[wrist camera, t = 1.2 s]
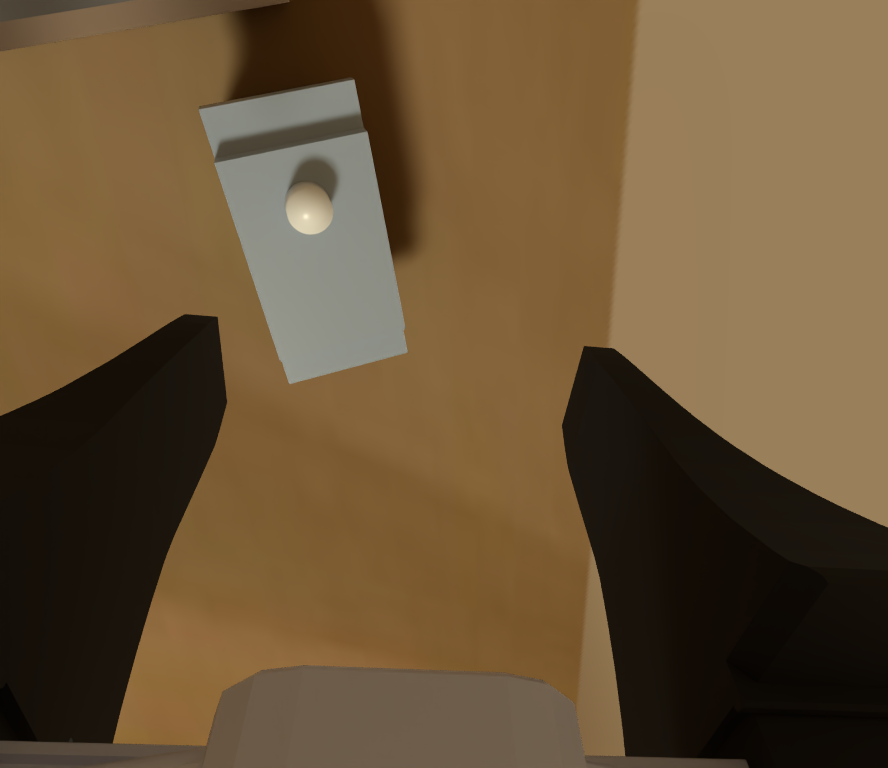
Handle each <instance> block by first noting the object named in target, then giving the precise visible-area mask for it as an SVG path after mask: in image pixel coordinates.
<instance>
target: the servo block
mask: <svg viewBox="0 0 888 768" xmlns="http://www.w3.org/2000/svg"><path fill="white" fill-rule="evenodd" d="M199 112H200V115H201V118H202V121H203V124H204V127H205V130H206V133H207V136H208V139H209V142H210V145H211V148H212V151H213V155H214V158H215V162H214V163H215V166H216V169H217V172H218V175H219V178H220V181H221V184H222V187H223V191H224V194H225V197H226V200H227V203H228V206H229V209H230V212H231V215H232V218H233V221H234V224H235V227H236V230H237V233H238V236H239V239H240V242H241V245H242V248H243V251H244V254H245V257H246V260H247V263H248V266H249V269H250V272H251V275H252V278H253V281H254V284H255V287H256V290H257V293H258V296H259V299H260V302H261V305H262V308H263V311H264V314H265V317H266V320H267V323H268V326H269V329H270V332H271V335H272V338H273V341H274V344H275V347H276V350H277V353H278V356H279V359H280V361H282V363H283V366H284V369H285V372H286V376H287V379H288V382H289V384H291V383H295V382H299V381H303V380H306V379H310V378H314V377H318V376H321V375H325V374H329V373H333V372H336V371H340V370H344V369H348V368H351V367H355V366H359V365H363V364H366V363H370V362H374V361H378V360H381V359H385V358H389V357H393V356H396V355H400V354H404V353H408V351H407V346H406V341H405V336H404V331H403V329H405V323H404V318H403V313H402V308H401V303H400V298H399V292H398V287H397V282H396V277H395V272H394V267H393V261H392V256H391V251H390V246H389V241H388V236H387V230H386V225H385V220H384V215H383V210H382V204H381V199H380V194H379V189H378V184H377V179H376V173H375V168H374V163H373V158H372V153H371V148H370V142H369V137H368V132H367V131H366V129H365V128H364V126H363V121H362V116H361V111H360V106H359V101H358V96H357V91H356V86H355V80H354V79H353V78H352V77H350V78H345V79H339V80H334V81H329V82H324V83H319V84H313V85H308V86H303V87H298V88H293V89H287V90H282V91H277V92H272V93H267V94H261V95H256V96H251V97H246V98H241V99H235V100H230V101H225V102H220V103H215V104H209V105H204V106H199Z"/></svg>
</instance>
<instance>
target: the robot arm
mask: <svg viewBox="0 0 888 768" xmlns="http://www.w3.org/2000/svg"><path fill="white" fill-rule="evenodd" d="M226 404H227V398H226V389H225V380H224V371H223V362H222V353H221V344H220V335H219V326H218V317H213V316H200V315H188V314H185V315H183V316H181V317H179V318H177V319H175V320H174V321H172V322H170V323H169V324H167V325H166V326H164V327H162V328H161V329H159V330H158V331H156V332H155V333H153V334H151V335H150V336H148V337H147V338H145V339H144V340H142V341H141V342H139V343H137V344H136V345H134V346H133V347H131V348H129V349H128V350H126V351H125V352H123V353H121V354H120V355H118V356H117V357H115V358H113V359H112V360H110V361H108V362H107V363H105V364H103V365H101V366H100V367H98V368H96V369H94V370H92V371H91V372H89V373H87V374H85V375H84V376H82V377H80V378H78V379H76V380H75V381H73V382H71V383H69V384H68V385H66V386H64V387H62V388H60V389H58V390H56V391H54V392H52V393H50V394H48V395H46V396H44V397H42V398H40V399H38V400H36V401H33V402H31V403H29V404H27V405H24V406H22V407H20V408H18V409H16V410H13V411H11V412H9V413H6V414H4V415H2V416H0V768H888V528H887V527H885V526H883V525H880V524H878V523H876V522H874V521H871V520H869V519H867V518H865V517H862V516H860V515H858V514H856V513H853V512H851V511H849V510H847V509H845V508H842V507H840V506H838V505H836V504H834V503H832V502H830V501H828V500H826V499H824V498H822V497H820V496H818V495H816V494H814V493H812V492H810V491H809V490H807V489H805V488H803V487H801V486H800V485H798V484H796V483H794V482H792V481H790V480H788V479H787V478H785V477H783V476H781V475H780V474H778V473H776V472H774V471H773V470H771V469H769V468H768V467H766V466H764V465H762V464H761V463H760V462H758V461H756V460H755V459H753V458H752V457H750V456H749V455H747V454H746V453H744V452H742V451H741V450H739V449H738V448H736V447H735V446H733V445H732V444H730V443H729V442H728V441H726V440H725V439H723V438H722V437H720V436H719V435H718V434H716V433H715V432H714V431H712V430H711V429H710V428H709V427H707V426H706V425H705V424H703V423H702V422H701V421H699V420H698V419H697V418H695V417H694V416H693V415H691V413H689V412H688V411H687V410H686V409H684V408H683V407H682V406H681V405H679V404H678V403H677V402H676V401H675V400H674V399H672V398H671V397H670V396H669V395H668V394H666V393H665V392H664V391H663V390H662V389H661V388H660V387H658V386H657V385H656V384H655V383H654V382H653V381H652V380H650V379H649V378H648V377H647V376H646V375H645V374H644V373H643V372H641V371H640V370H639V369H638V368H637V367H636V366H635V365H633V364H632V363H631V362H630V361H629V360H628V359H626V358H625V357H624V356H623V355H622V354H620V353H619V352H618V351H616V350H615V349H613V348H601V347H588V346H584V348H583V351H582V355H581V359H580V362H579V366H578V370H577V373H576V377H575V380H574V384H573V388H572V391H571V395H570V398H569V402H568V406H567V409H566V413H565V416H564V420H563V424H562V429H563V437H564V445H565V452H566V458H567V464H568V469H569V473H570V476H571V480H572V483H573V487H574V490H575V494H576V497H577V500H578V504H579V507H580V510H581V514H582V517H583V520H584V524H585V527H586V530H587V534H588V537H589V540H590V544H591V547H592V550H593V554H594V557H595V561H596V565H597V569H598V573H599V577H600V582H601V588H602V593H603V598H604V603H605V609H606V615H607V621H608V627H609V634H610V640H611V647H612V652H613V659H614V666H615V672H616V680H617V688H618V696H619V704H620V712H621V719H622V727H623V737H624V747H625V756H586V755H584V750H583V745H582V740H581V736H580V730H579V724H578V719H577V714H576V709H575V704H574V702H572V701H571V700H570V699H568V698H567V697H566V696H564V695H563V694H562V693H560V692H559V691H558V690H556V689H555V688H553V687H552V686H551V685H549V684H548V683H546V682H545V681H543V680H540V679H535V678H530V677H525V676H519V675H514V674H509V673H503V672H475V671H447V670H419V669H391V668H363V667H335V666H308V665H303V666H294V667H285V668H276V669H267V670H261V671H259V672H257V673H256V674H254V675H252V676H250V677H248V678H246V679H244V680H243V681H241V682H239V683H237V684H235V685H233V686H232V687H230V688H228V689H226V690H225V691H223V692H222V695H221V698H220V701H219V704H218V707H217V710H216V712H215V716H214V719H213V723H212V727H211V730H210V734H209V738H208V742H207V745H206V746H189V745H149V744H113V739H114V735H115V731H116V727H117V723H118V719H119V715H120V711H121V707H122V704H123V700H124V696H125V692H126V689H127V685H128V681H129V678H130V674H131V670H132V667H133V663H134V659H135V656H136V652H137V649H138V645H139V642H140V638H141V635H142V632H143V628H144V625H145V622H146V618H147V615H148V611H149V608H150V605H151V601H152V598H153V595H154V592H155V589H156V586H157V583H158V580H159V576H160V573H161V570H162V567H163V564H164V561H165V558H166V555H167V553H168V550H169V548H170V545H171V543H172V540H173V537H174V535H175V533H176V531H177V528H178V526H179V524H180V522H181V520H182V517H183V515H184V513H185V511H186V509H187V506H188V504H189V502H190V500H191V498H192V495H193V493H194V491H195V489H196V487H197V484H198V482H199V480H200V478H201V476H202V473H203V471H204V469H205V467H206V464H207V462H208V460H209V458H210V455H211V453H212V451H213V448H214V446H215V443H216V440H217V437H218V433H219V430H220V426H221V423H222V419H223V415H224V412H225V408H226Z"/></svg>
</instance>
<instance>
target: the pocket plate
mask: <svg viewBox="0 0 888 768" xmlns="http://www.w3.org/2000/svg"><path fill="white" fill-rule="evenodd" d="M287 2H290V1H289V0H0V51H5V50H11V49H17V48H23V47H28V46H34V45H40V44H46V43H52V42H58V41H64V40H70V39H75V38H81V37H87V36H93V35H99V34H105V33H111V32H117V31H123V30H128V29H134V28H140V27H146V26H152V25H158V24H164V23H170V22H176V21H181V20H187V19H193V18H199V17H205V16H211V15H217V14H223V13H228V12H234V11H240V10H246V9H252V8H258V7H264V6H270V5H276V4H281V3H287Z"/></svg>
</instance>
